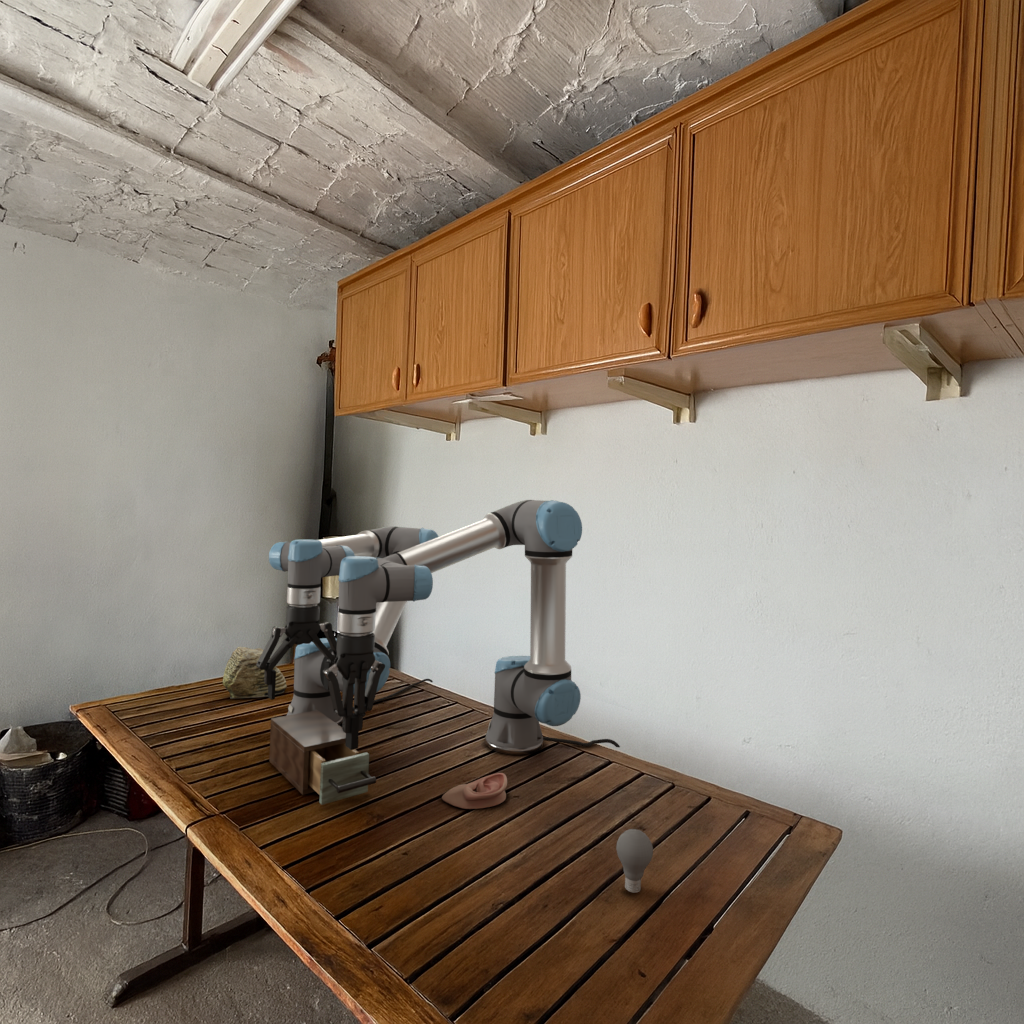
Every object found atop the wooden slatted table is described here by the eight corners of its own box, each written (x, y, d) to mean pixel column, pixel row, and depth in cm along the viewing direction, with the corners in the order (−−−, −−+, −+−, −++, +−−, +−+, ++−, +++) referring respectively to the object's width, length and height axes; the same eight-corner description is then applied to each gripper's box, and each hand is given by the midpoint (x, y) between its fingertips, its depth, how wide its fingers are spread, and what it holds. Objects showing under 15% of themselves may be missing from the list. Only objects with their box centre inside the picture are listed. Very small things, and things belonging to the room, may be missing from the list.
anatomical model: (437, 786, 132) (453, 764, 143) (436, 805, 132) (453, 781, 143) (499, 795, 129) (511, 771, 140) (499, 814, 129) (510, 789, 141)
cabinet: (352, 781, 142) (354, 736, 141) (302, 795, 134) (304, 747, 134) (315, 750, 157) (317, 709, 157) (269, 761, 150) (270, 718, 150)
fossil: (218, 695, 195) (220, 647, 195) (278, 685, 208) (279, 640, 207) (228, 703, 189) (230, 653, 188) (289, 692, 201) (290, 645, 201)
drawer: (380, 802, 131) (381, 762, 130) (332, 816, 124) (334, 774, 124) (330, 760, 150) (331, 726, 149) (286, 771, 143) (288, 735, 143)
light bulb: (610, 879, 108) (613, 822, 108) (644, 879, 109) (647, 822, 109) (619, 902, 102) (622, 840, 102) (655, 901, 103) (658, 840, 103)
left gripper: (254, 611, 140) (251, 706, 140) (358, 603, 156) (355, 689, 156) (244, 606, 146) (240, 697, 146) (345, 598, 162) (342, 681, 162)
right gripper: (333, 639, 122) (328, 760, 122) (393, 632, 130) (389, 746, 131) (317, 632, 128) (313, 747, 128) (376, 626, 136) (372, 734, 137)
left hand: (300, 693), depth 151 cm, fingers open, 13 cm apart
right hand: (351, 747), depth 130 cm, fingers closed
